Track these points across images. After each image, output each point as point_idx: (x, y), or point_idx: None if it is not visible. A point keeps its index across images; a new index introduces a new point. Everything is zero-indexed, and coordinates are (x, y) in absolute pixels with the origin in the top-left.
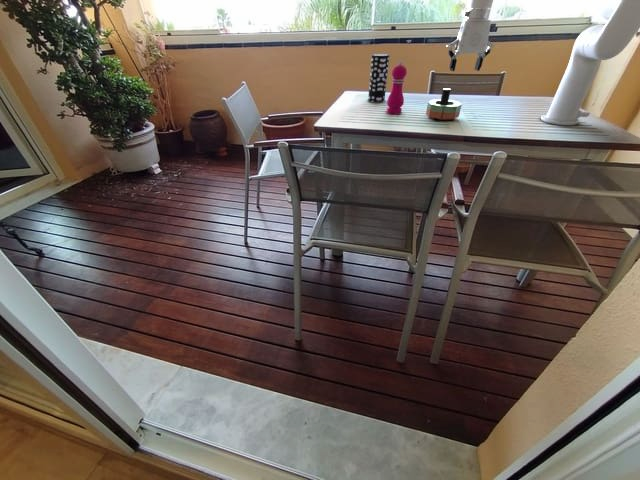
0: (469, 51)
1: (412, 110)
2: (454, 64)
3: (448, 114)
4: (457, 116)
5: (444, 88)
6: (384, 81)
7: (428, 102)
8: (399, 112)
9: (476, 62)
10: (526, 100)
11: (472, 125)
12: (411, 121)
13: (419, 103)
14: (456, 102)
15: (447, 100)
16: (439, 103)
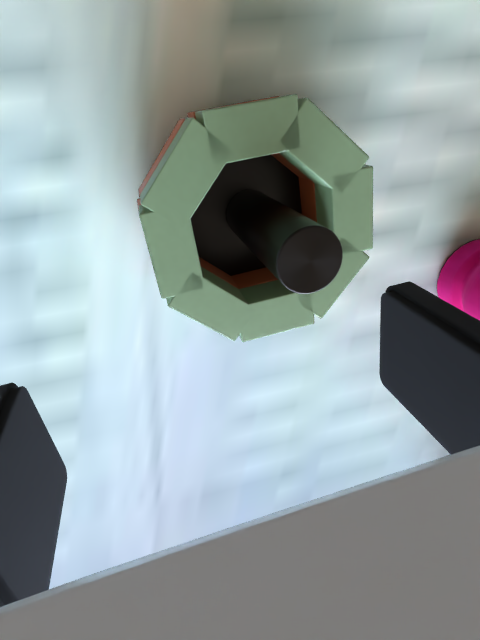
0: (427, 501)
1: (366, 340)
2: (462, 317)
3: (234, 104)
4: (150, 169)
5: (326, 282)
6: None
7: (372, 237)
8: (459, 253)
9: (47, 548)
10: None
11: (43, 9)
12: (436, 92)
13: (300, 474)
14: (175, 261)
15: (263, 214)
16: (279, 288)
